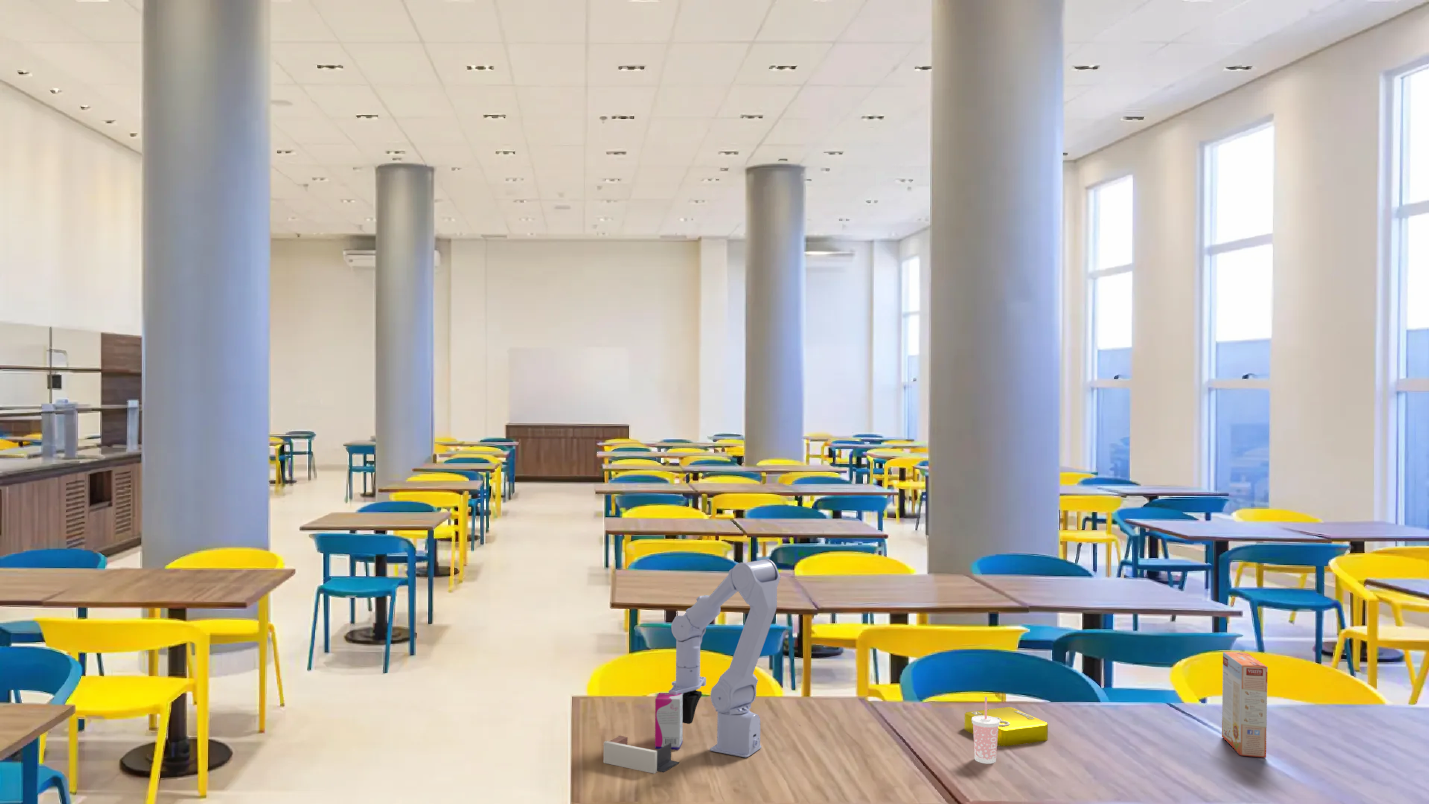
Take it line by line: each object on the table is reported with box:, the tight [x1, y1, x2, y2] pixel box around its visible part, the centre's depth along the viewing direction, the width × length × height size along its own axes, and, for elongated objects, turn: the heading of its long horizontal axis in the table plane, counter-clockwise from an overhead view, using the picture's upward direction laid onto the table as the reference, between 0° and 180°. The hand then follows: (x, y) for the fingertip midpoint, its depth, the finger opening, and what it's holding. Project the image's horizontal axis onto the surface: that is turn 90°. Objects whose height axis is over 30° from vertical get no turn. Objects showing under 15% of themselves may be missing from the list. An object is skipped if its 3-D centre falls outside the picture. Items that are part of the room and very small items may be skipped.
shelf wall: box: [603, 740, 658, 774], centre depth 214 cm, size 13×1×4 cm, turn 62°
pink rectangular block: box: [609, 735, 629, 745], centre depth 221 cm, size 2×6×4 cm, turn 152°
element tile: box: [963, 706, 1049, 747], centre depth 240 cm, size 15×15×5 cm
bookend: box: [656, 743, 680, 773], centre depth 215 cm, size 2×6×4 cm, turn 152°
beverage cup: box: [972, 696, 1000, 765], centre depth 222 cm, size 6×6×14 cm
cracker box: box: [1221, 651, 1269, 759], centre depth 232 cm, size 14×6×21 cm, turn 168°
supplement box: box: [654, 692, 684, 751], centre depth 229 cm, size 6×6×12 cm
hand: (687, 722), depth 236 cm, fingers closed
